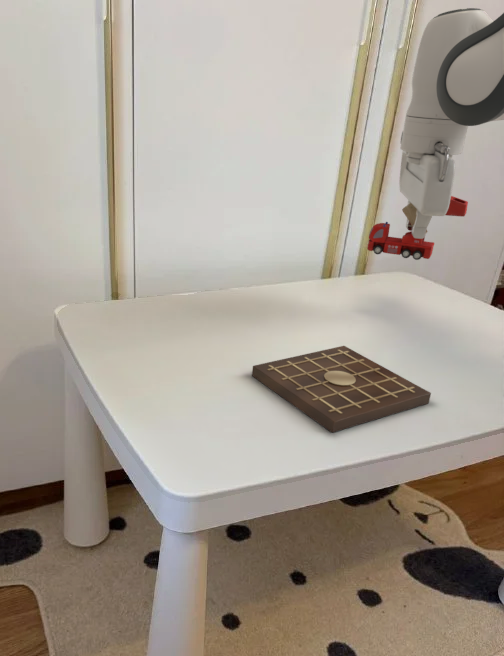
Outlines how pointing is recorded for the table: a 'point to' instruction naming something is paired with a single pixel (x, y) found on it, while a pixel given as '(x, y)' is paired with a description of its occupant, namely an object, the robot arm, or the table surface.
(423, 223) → the robot arm
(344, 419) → the board
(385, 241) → the toy fire truck
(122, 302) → the table surface
